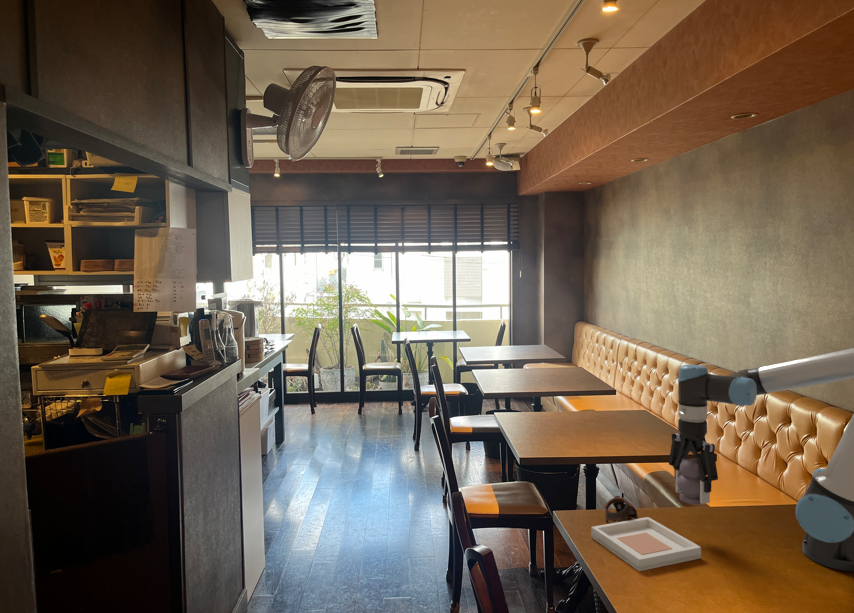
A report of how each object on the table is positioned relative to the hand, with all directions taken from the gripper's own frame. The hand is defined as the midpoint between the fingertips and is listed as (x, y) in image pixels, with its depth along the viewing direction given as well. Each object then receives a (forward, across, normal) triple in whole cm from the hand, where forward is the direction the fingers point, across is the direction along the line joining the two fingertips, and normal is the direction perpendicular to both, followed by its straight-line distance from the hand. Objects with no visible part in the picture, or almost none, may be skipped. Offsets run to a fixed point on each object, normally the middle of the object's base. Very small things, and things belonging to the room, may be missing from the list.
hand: (692, 497), depth 163 cm
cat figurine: (+1, 0, 0) cm, 1 cm away
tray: (+11, +1, -18) cm, 21 cm away
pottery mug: (+11, -15, -13) cm, 23 cm away
